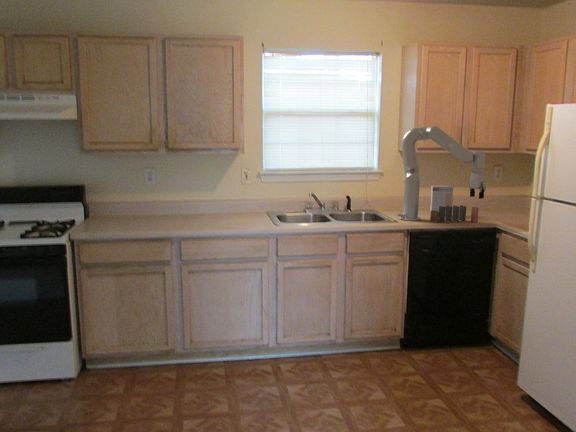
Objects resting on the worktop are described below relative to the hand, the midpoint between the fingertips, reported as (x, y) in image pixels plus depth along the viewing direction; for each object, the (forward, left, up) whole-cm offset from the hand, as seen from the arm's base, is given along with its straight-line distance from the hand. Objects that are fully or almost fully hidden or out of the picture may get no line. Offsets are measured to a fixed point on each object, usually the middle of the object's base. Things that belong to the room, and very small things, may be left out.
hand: (476, 197), depth 329 cm
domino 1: (-20, +6, -16) cm, 27 cm away
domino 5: (0, 0, -16) cm, 16 cm away
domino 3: (-10, +6, -16) cm, 20 cm away
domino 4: (-5, +6, -16) cm, 18 cm away
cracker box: (-8, +28, -17) cm, 34 cm away
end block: (-25, +6, -16) cm, 31 cm away
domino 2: (-15, +6, -16) cm, 23 cm away
